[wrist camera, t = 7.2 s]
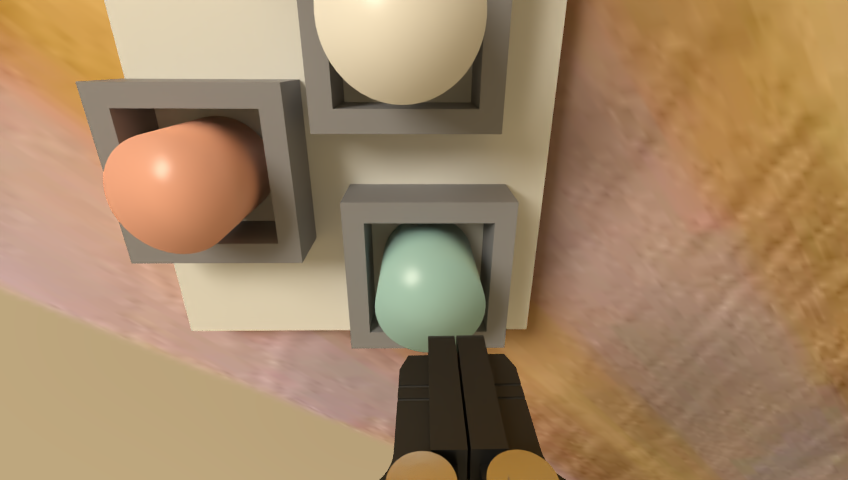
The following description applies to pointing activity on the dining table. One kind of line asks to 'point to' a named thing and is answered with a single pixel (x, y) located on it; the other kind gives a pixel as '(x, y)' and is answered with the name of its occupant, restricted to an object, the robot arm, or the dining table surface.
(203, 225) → the coral button
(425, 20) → the ivory button
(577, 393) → the dining table surface
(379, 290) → the mint green button
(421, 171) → the console
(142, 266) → the dining table surface
